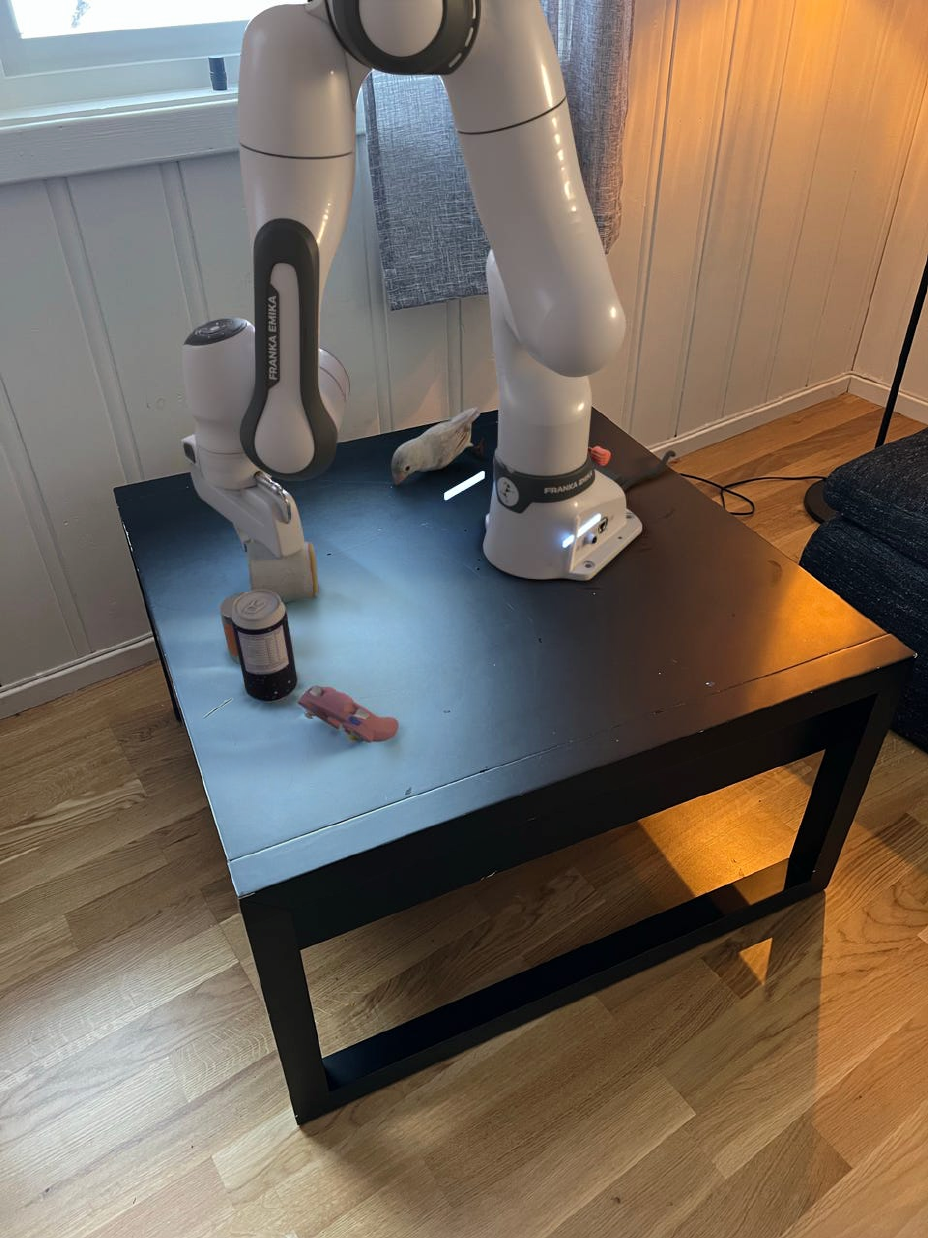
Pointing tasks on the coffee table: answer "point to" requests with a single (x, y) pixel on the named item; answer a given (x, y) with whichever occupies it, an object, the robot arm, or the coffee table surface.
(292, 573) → the ceramic mug
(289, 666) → the beverage can
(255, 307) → the robot arm
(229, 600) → the food tin
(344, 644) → the coffee table surface
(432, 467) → the decorative bird
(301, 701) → the red toy car
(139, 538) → the coffee table surface
